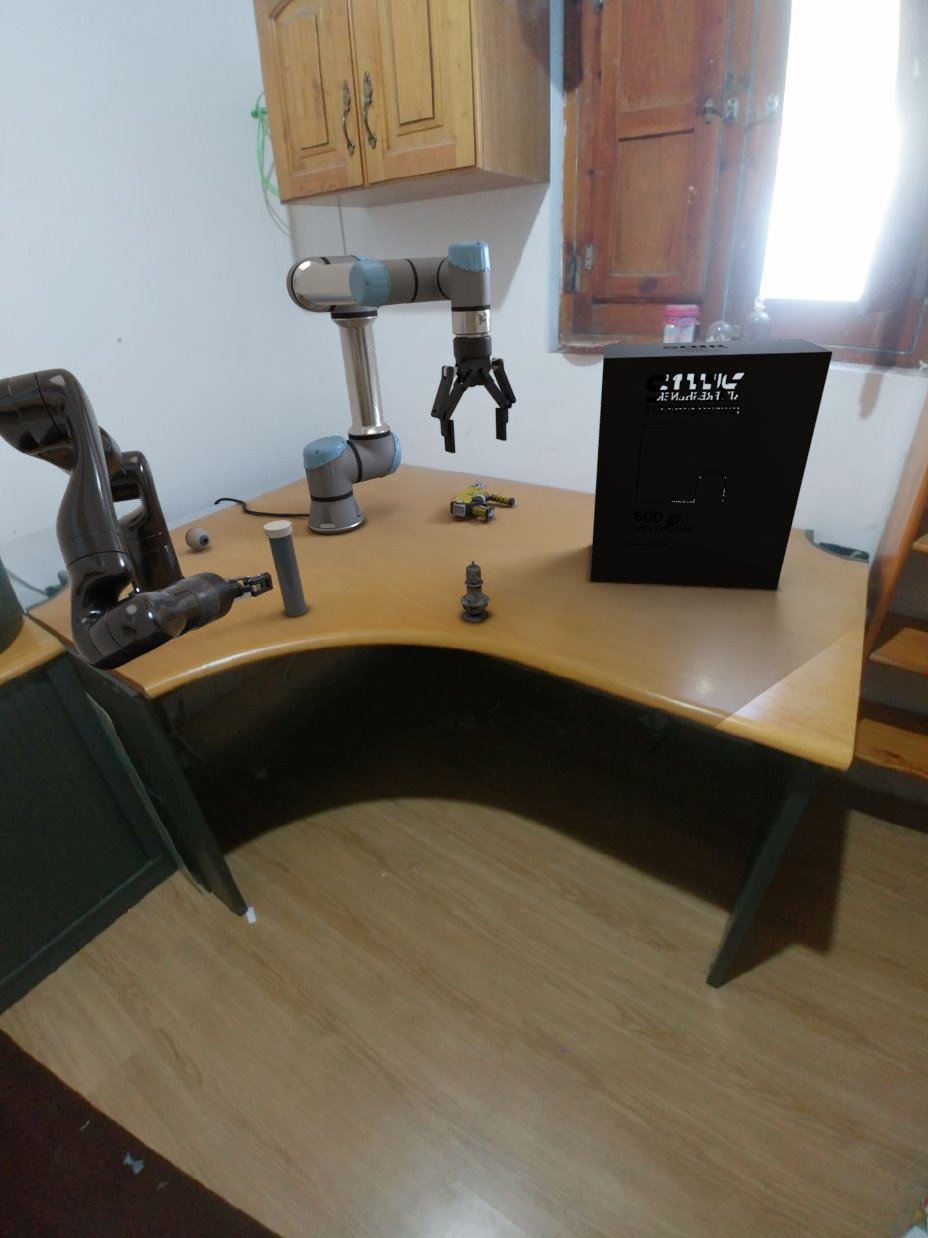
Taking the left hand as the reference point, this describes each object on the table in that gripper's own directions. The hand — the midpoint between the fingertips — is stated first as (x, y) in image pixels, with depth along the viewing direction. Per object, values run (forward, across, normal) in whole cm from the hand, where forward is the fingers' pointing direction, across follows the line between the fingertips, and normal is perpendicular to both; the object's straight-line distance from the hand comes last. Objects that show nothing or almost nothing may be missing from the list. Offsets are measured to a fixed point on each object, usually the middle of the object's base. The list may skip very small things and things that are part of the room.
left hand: (245, 581), depth 105 cm
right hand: (+34, -40, -18) cm, 55 cm away
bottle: (+20, +1, +10) cm, 22 cm away
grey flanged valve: (+18, -37, +16) cm, 44 cm away
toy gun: (+79, -37, -1) cm, 87 cm away
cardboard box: (+41, -81, +15) cm, 92 cm away
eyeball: (+51, +37, -3) cm, 63 cm away
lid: (+15, -1, -8) cm, 17 cm away
